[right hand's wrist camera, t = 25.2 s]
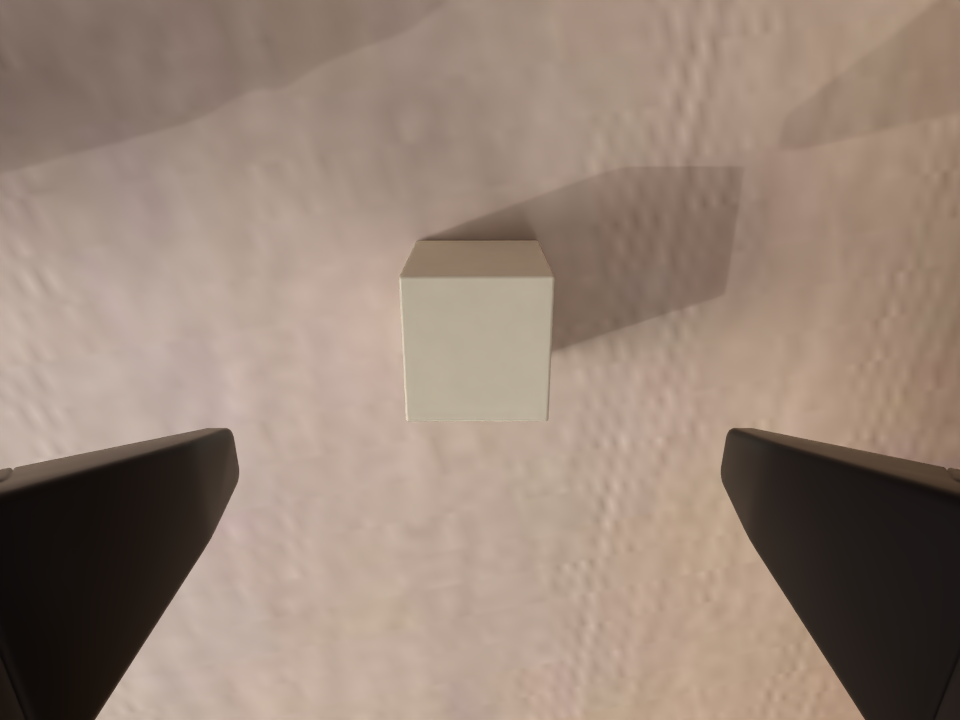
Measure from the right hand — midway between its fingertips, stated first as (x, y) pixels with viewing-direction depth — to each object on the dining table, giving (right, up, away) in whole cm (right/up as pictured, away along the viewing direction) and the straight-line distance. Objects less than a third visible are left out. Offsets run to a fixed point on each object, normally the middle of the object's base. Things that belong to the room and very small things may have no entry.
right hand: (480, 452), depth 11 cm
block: (0, +4, +10) cm, 11 cm away
